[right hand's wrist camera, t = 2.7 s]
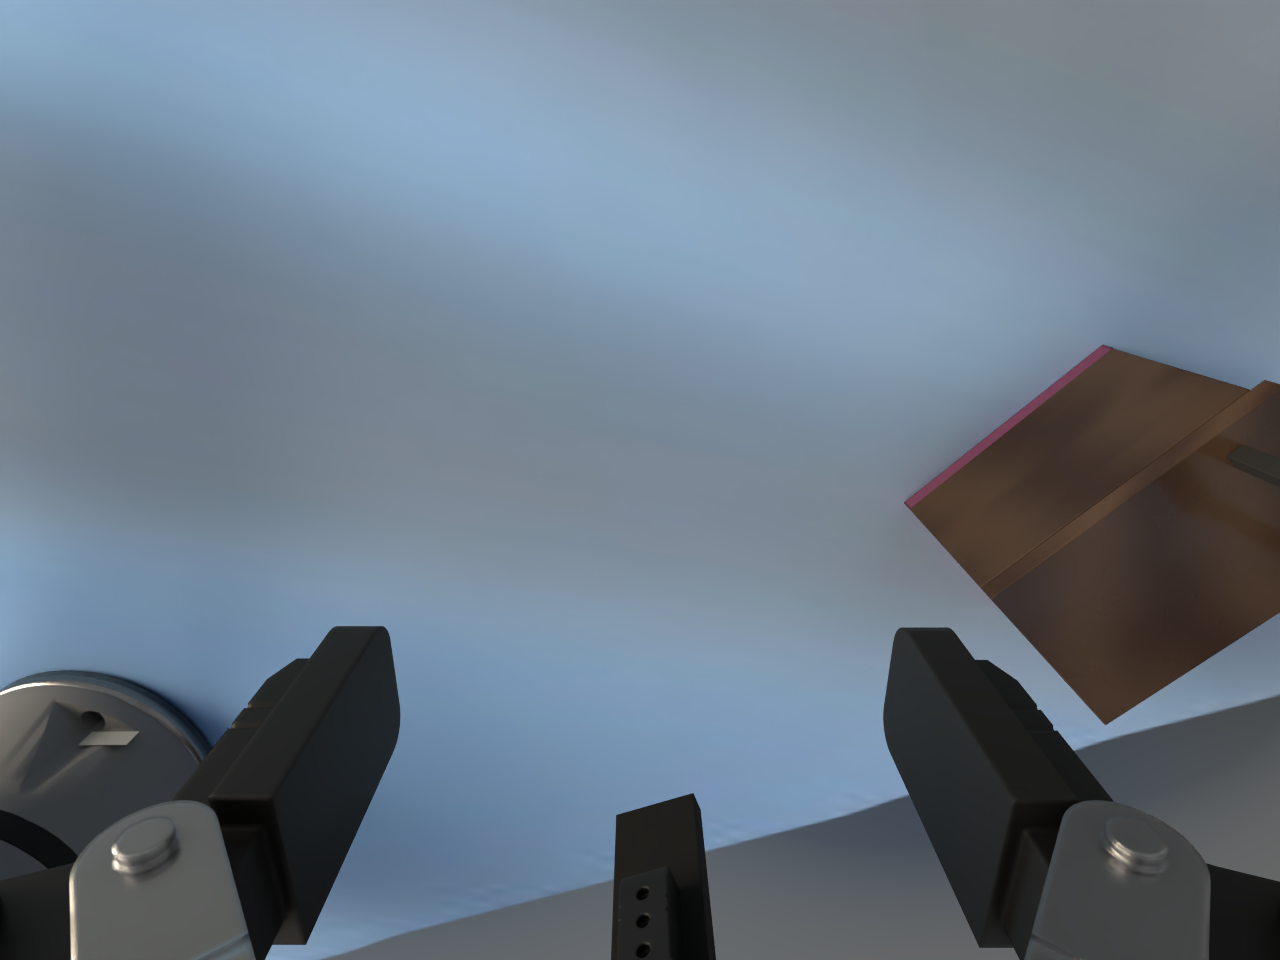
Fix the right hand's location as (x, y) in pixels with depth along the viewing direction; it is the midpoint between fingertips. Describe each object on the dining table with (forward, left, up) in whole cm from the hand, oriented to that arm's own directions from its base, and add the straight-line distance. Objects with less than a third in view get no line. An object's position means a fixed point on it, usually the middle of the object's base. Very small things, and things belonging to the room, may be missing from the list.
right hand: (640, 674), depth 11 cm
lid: (-11, +21, -18) cm, 29 cm away
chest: (-11, +21, -27) cm, 36 cm away
